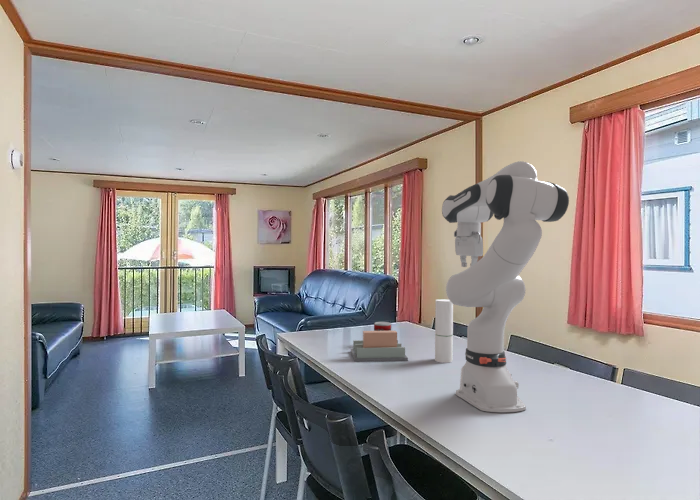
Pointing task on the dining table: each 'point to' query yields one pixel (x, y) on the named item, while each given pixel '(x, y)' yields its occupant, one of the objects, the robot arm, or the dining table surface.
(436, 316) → the cylindrical container
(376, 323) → the canned food
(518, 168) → the robot arm
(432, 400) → the dining table surface
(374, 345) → the terracotta tile
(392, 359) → the slotted rail base
